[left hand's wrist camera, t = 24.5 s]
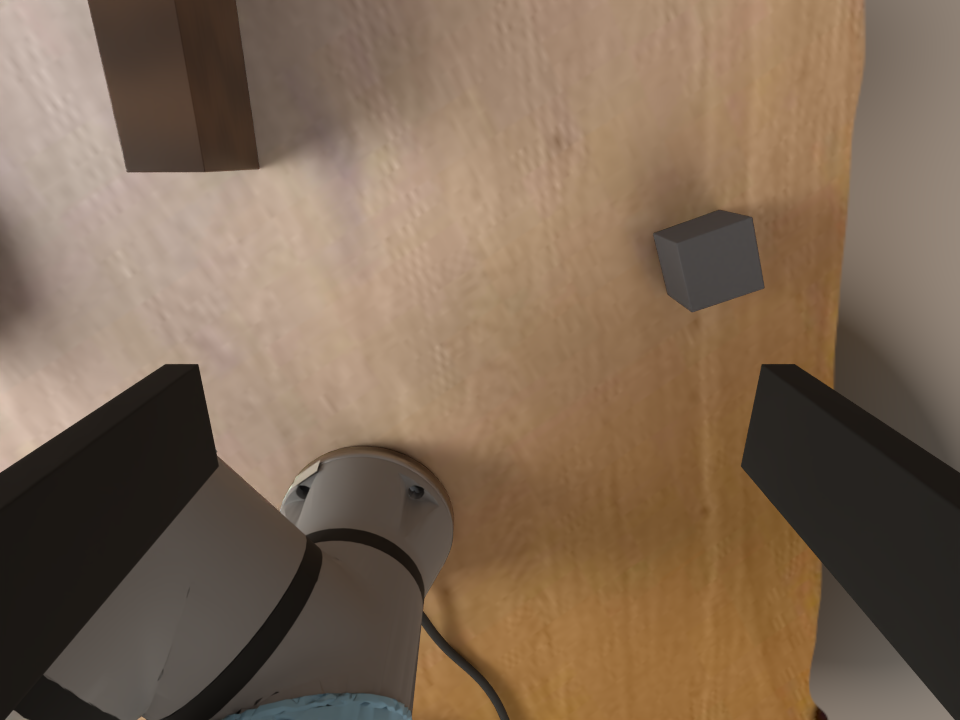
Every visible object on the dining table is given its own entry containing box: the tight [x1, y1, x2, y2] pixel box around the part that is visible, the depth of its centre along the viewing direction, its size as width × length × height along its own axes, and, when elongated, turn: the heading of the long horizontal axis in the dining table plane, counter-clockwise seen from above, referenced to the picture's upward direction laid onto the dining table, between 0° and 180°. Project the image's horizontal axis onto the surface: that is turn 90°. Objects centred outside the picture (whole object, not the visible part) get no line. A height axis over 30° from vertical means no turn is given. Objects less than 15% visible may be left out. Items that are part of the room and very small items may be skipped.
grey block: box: [653, 210, 764, 312], centre depth 37 cm, size 5×5×5 cm
